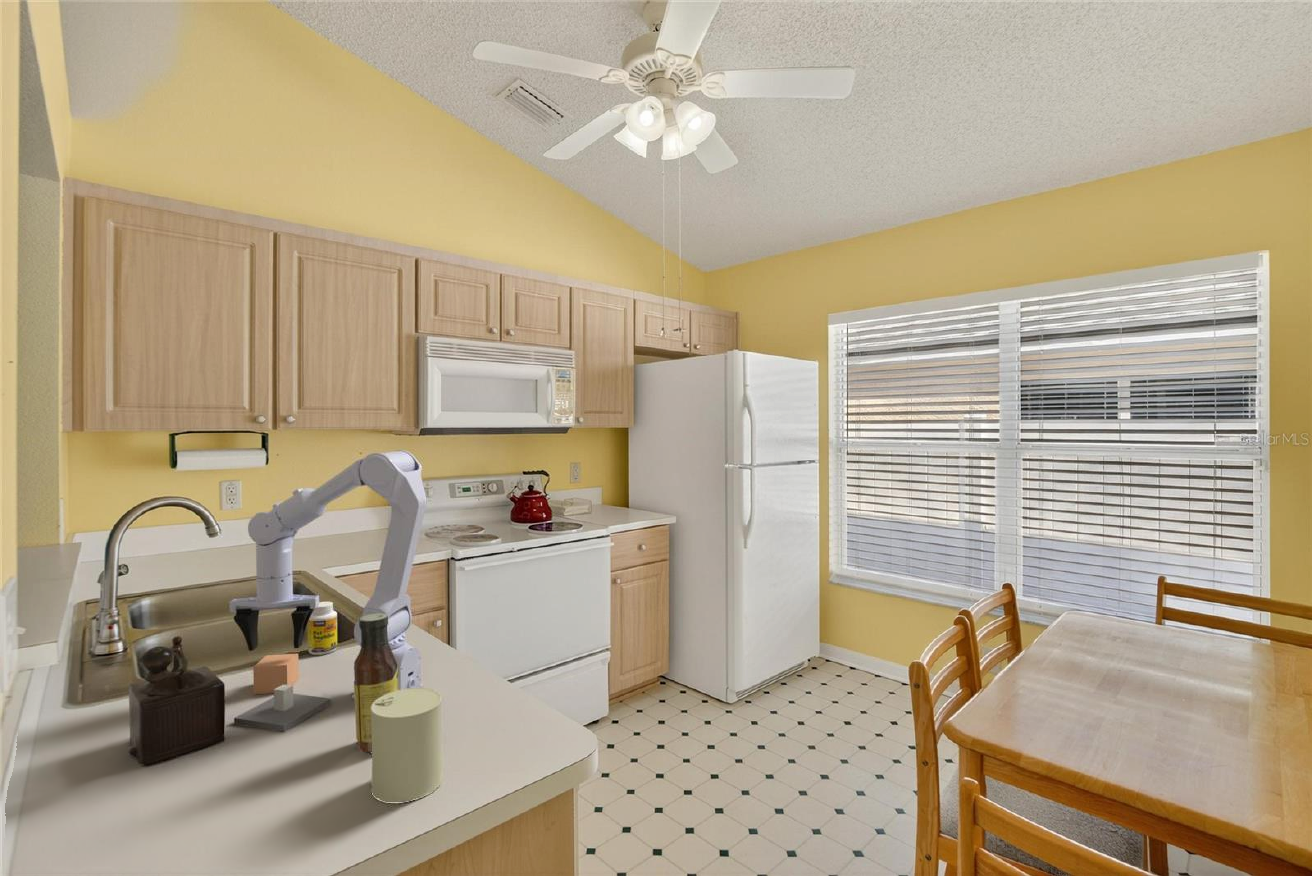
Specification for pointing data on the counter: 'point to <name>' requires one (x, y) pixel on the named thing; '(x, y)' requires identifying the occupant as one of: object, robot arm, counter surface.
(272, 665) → the orange cube
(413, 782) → the can
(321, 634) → the supplement bottle
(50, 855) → the counter surface
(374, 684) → the sauce bottle
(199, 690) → the dark brown boxy piece
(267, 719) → the shaft base
